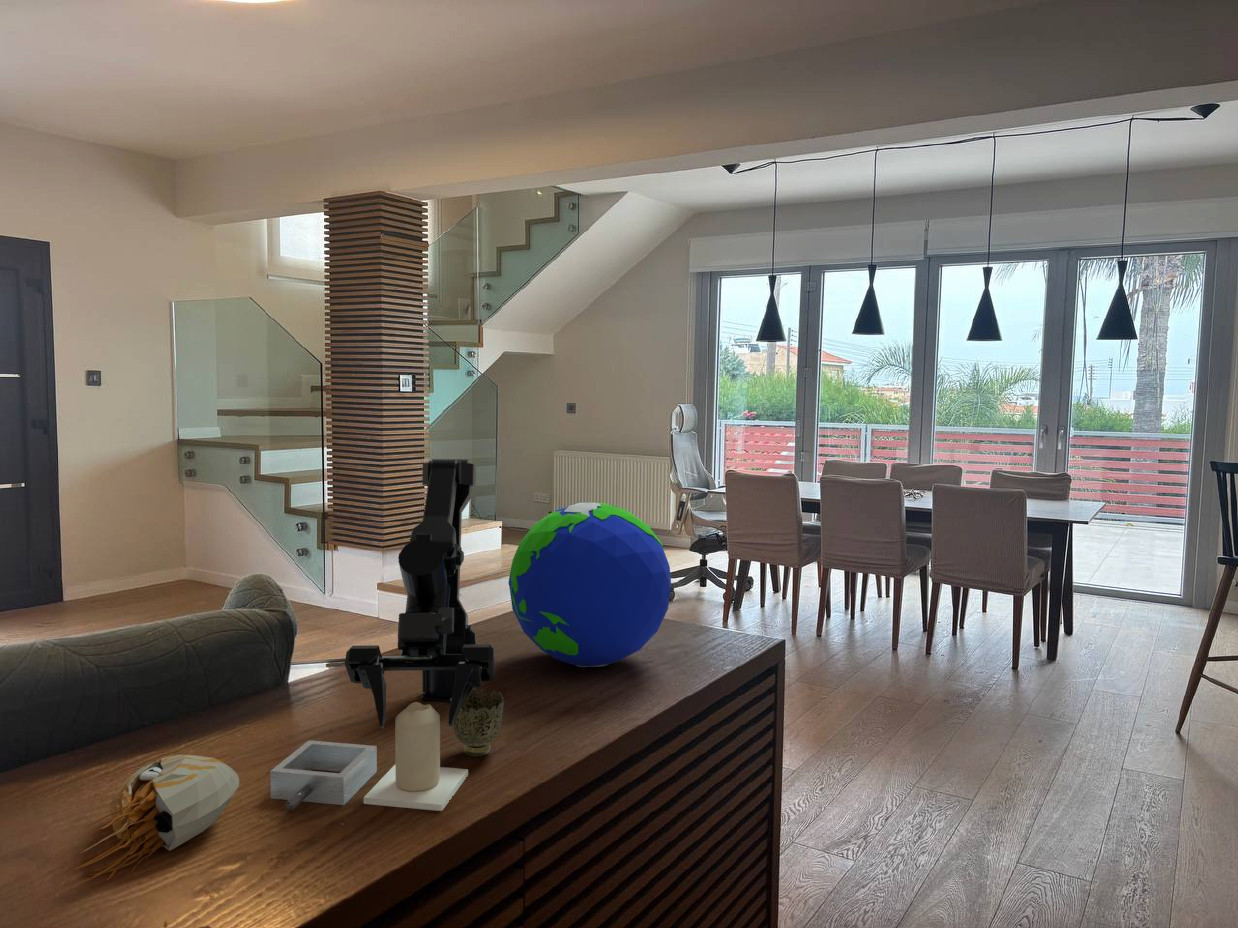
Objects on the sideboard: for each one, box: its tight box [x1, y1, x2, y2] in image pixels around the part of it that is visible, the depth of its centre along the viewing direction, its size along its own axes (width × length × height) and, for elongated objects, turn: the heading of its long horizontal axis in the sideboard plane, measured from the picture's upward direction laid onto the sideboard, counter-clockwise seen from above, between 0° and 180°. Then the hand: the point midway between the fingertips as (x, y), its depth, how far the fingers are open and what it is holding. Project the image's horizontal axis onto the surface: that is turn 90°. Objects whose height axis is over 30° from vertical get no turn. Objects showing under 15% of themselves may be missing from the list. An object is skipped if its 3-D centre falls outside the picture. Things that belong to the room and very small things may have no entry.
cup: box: [449, 688, 505, 758], centre depth 125 cm, size 8×7×8 cm
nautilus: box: [73, 754, 240, 884], centre depth 100 cm, size 8×22×15 cm
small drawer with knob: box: [269, 739, 378, 811], centre depth 113 cm, size 10×14×4 cm
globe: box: [508, 502, 672, 668], centre depth 164 cm, size 30×30×30 cm
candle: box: [394, 701, 441, 791], centre depth 114 cm, size 6×6×10 cm
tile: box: [363, 764, 469, 812], centre depth 114 cm, size 10×10×1 cm
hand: (415, 725), depth 112 cm, fingers open, 8 cm apart
